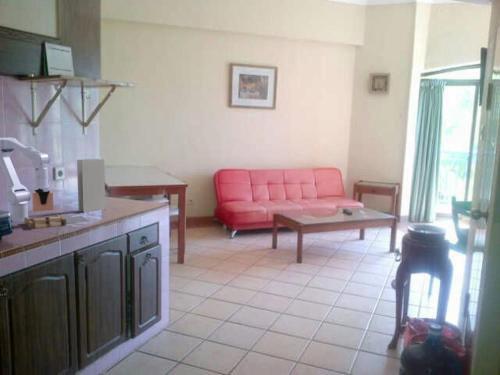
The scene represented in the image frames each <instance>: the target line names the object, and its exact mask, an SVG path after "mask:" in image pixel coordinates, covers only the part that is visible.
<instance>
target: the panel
mask: <svg viewBox="0 0 500 375" xmlns="http://www.w3.org/2000/svg"><path fill="white" fill-rule="evenodd" d="M31 198H32V211H33V212H34V213H35V212H46V211H54V192H53V191H50V193H49V194H48V197H47V202H46V204H45V205H41V202H40V197H39V194H38V193H36V192H32V193H31Z"/></svg>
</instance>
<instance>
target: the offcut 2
mask: <svg viewBox="0 0 500 375" xmlns="http://www.w3.org/2000/svg"><path fill="white" fill-rule="evenodd" d="M48 217H49V226H58V227H60V226H59V225H61V217H62V216H61V217H59V216H58V217H54V216H48Z"/></svg>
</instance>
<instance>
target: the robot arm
mask: <svg viewBox="0 0 500 375" xmlns="http://www.w3.org/2000/svg"><path fill="white" fill-rule="evenodd" d="M15 150H16V151H18V152H20V153H22V155H23V157H24V158H26V159H29V160H30V161H31V163H32V164H33V168H34V174H35V175H34V176H35V179H34V180H35V189H34V193H38V194H39V197H40V202H41V205H45V204H46V202H47V197H48V194H49V193H50V192H51V190H49V188H51V187H52V185H49V174H48V173H49V171H48V170H49V169H48V168H49V167H48V164H49V163H50V161H51V158H50V157H51V156H50V155H49V154H48V153H47V152H41V151H40V150H37V149H35V147H33V145H32V146H31V145H30V146H26V145H24V144H22V143H21V142H20V141H18V139H17V138H15V137H14V136H13V137H12V136H11V137H0V167H1V170H2V172H3V174H4V177H5V179H6V182H7V185H8V189H7V190H6V196H7V201H8V203H9V204H10V205H11V217H10V218H11V219H10V221H12V222H13V223H17V222H18V223H20V222H25V220H24V218H25V217H27V218H28V219H30V218H29V211H28V209H29V206H28V204H29V202H30V200H31V198H32V194H31V193H30V191H29V190H28V188H27V187H26V186H25V185H24V184H22V183H21V182H20V179H19V177H18V175H17V171H16V170H15V168H14V164H13V162H12V160H11V155H12V154H13V153H14V152H15Z"/></svg>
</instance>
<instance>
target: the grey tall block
mask: <svg viewBox="0 0 500 375" xmlns="http://www.w3.org/2000/svg"><path fill="white" fill-rule="evenodd" d="M76 173H77V203H78V207H77V208H78V212H85V213H91V212H90V211H92V212H98V211H104V209H105V210H106V181H105V179H106V178H105V177H106V176H105V175H106V173H105V159H104V158H103V159H100V158H88V159H86V158H85V159H76Z"/></svg>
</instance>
